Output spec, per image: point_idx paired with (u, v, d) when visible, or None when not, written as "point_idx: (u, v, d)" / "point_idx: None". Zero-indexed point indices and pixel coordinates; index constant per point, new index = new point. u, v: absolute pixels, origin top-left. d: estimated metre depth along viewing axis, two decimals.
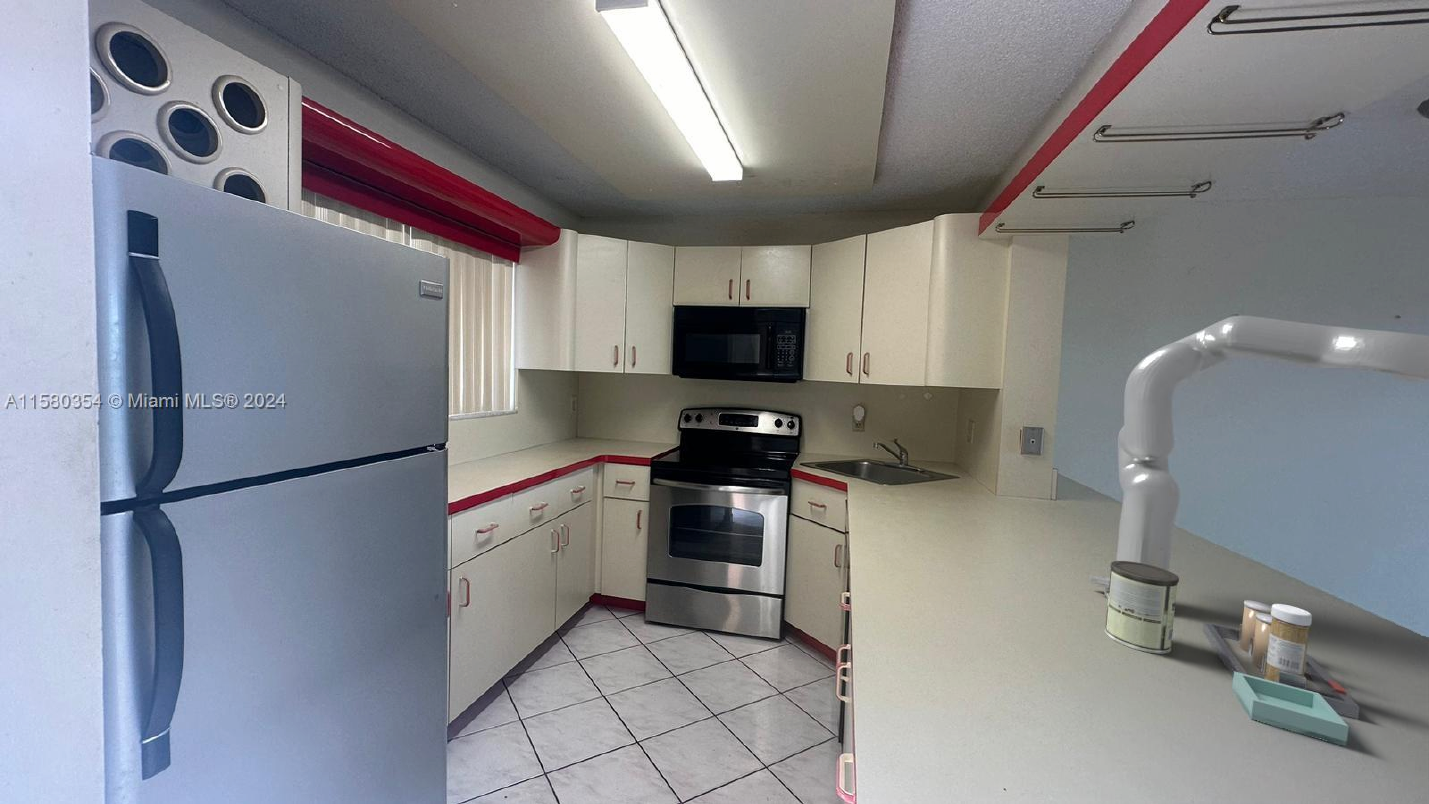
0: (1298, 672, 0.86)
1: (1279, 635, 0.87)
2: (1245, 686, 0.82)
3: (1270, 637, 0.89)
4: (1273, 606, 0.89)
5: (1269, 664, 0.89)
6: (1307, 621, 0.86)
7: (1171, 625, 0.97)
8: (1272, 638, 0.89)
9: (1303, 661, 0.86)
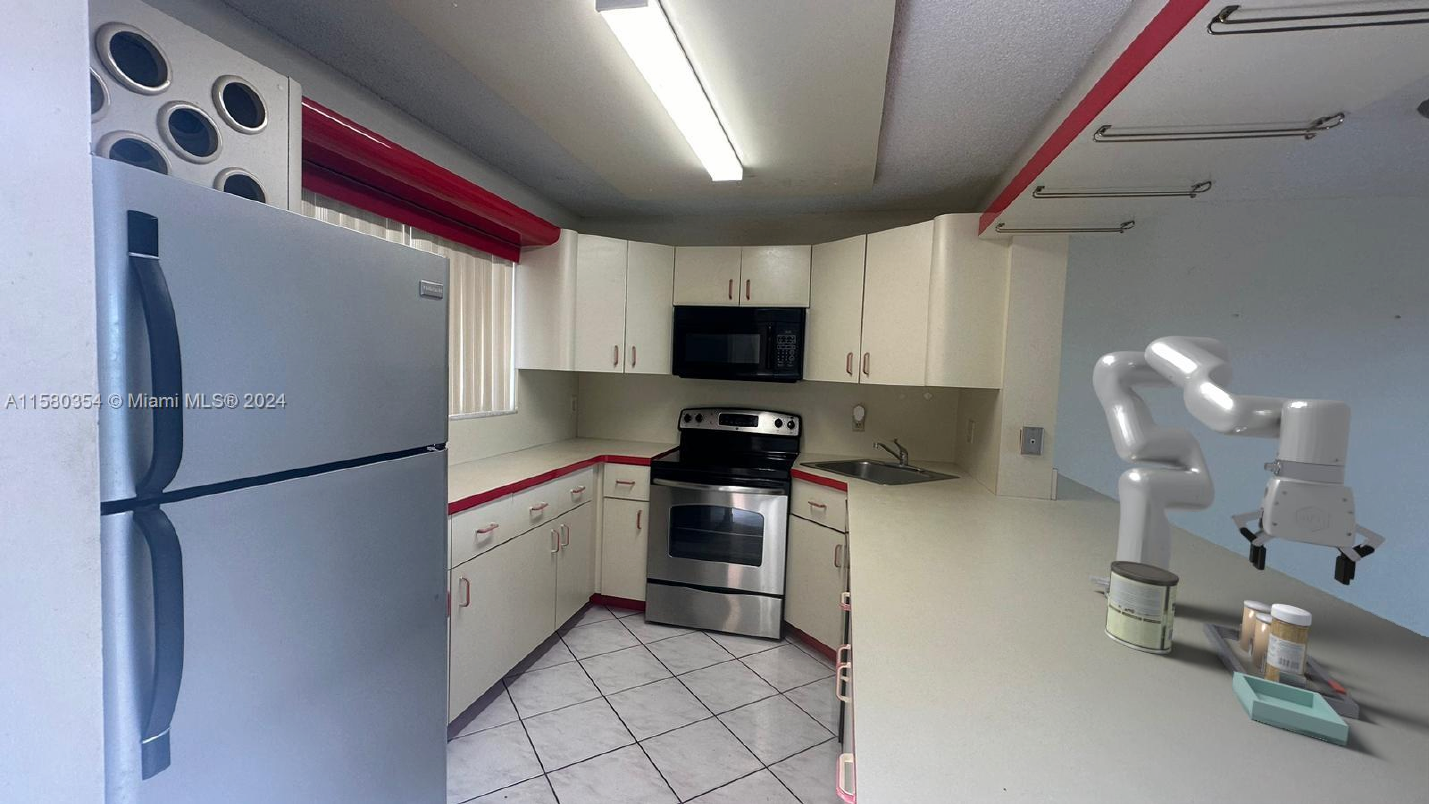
0: (1298, 672, 0.86)
1: (1279, 635, 0.87)
2: (1245, 686, 0.82)
3: (1270, 637, 0.89)
4: (1273, 606, 0.89)
5: (1269, 664, 0.89)
6: (1307, 621, 0.86)
7: (1171, 625, 0.97)
8: (1272, 638, 0.89)
9: (1303, 661, 0.86)
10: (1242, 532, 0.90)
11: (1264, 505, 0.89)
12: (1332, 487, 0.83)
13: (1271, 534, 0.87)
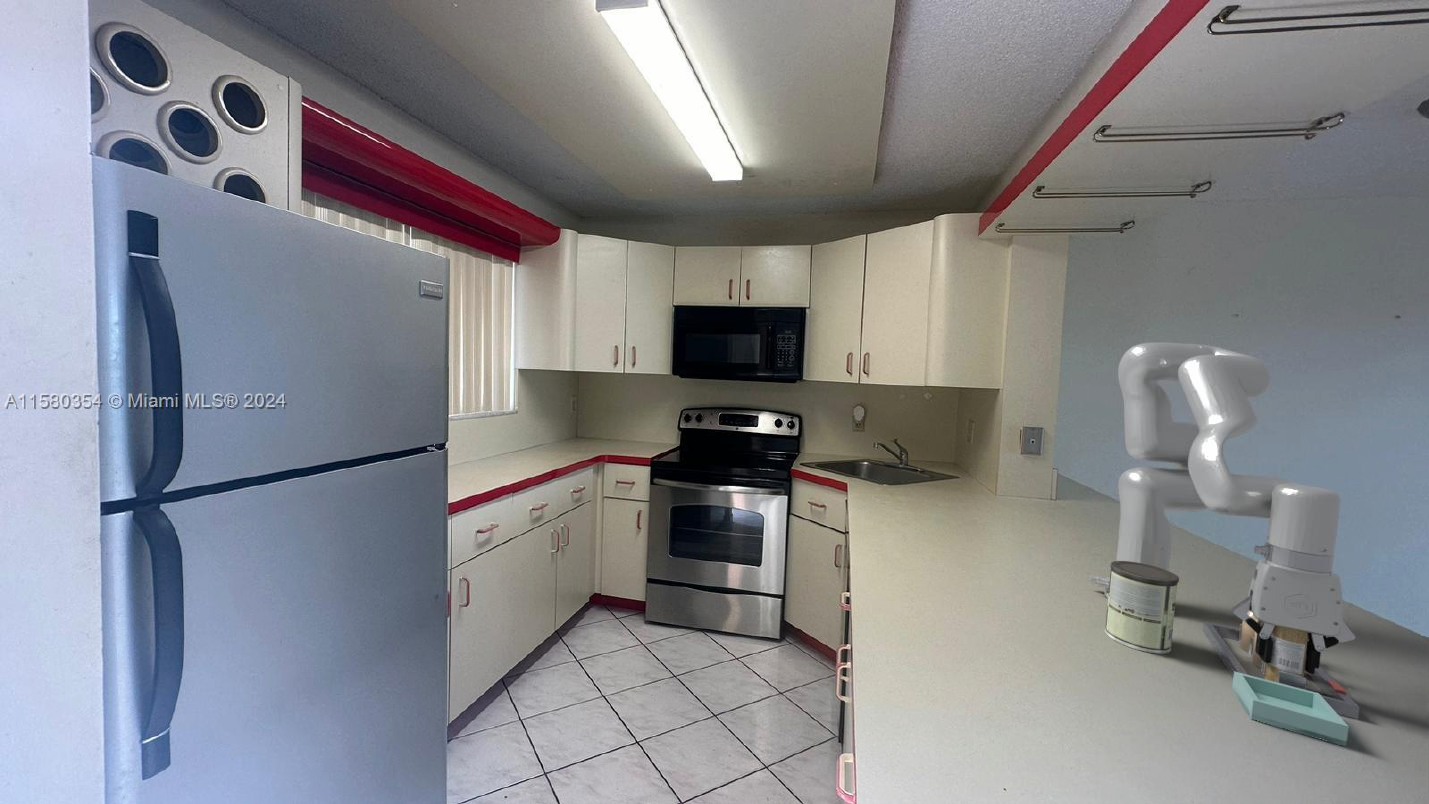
0: (1298, 672, 0.86)
1: (1279, 635, 0.87)
2: (1245, 686, 0.82)
3: (1270, 637, 0.89)
4: None
5: (1269, 664, 0.89)
6: None
7: (1171, 625, 0.97)
8: (1272, 638, 0.89)
9: (1303, 661, 0.86)
10: (1249, 623, 0.90)
11: (1253, 588, 0.90)
12: (1320, 576, 0.84)
13: (1259, 618, 0.88)
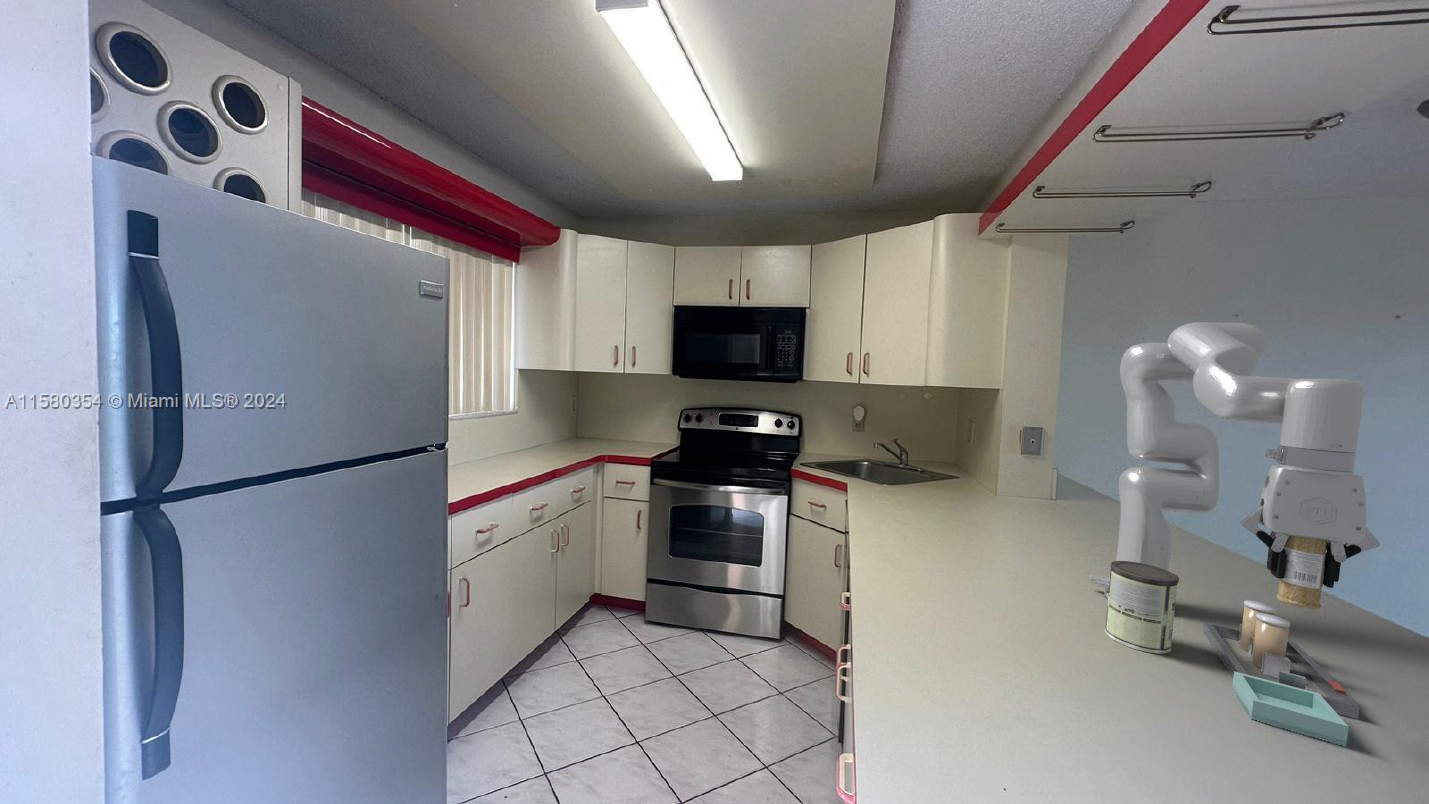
0: (1315, 586, 0.77)
1: (1294, 546, 0.78)
2: (1245, 686, 0.82)
3: None
4: None
5: (1283, 580, 0.79)
6: None
7: (1171, 625, 0.97)
8: (1285, 550, 0.79)
9: (1321, 574, 0.77)
10: (1259, 536, 0.81)
11: (1265, 496, 0.80)
12: (1341, 476, 0.75)
13: (1272, 528, 0.79)
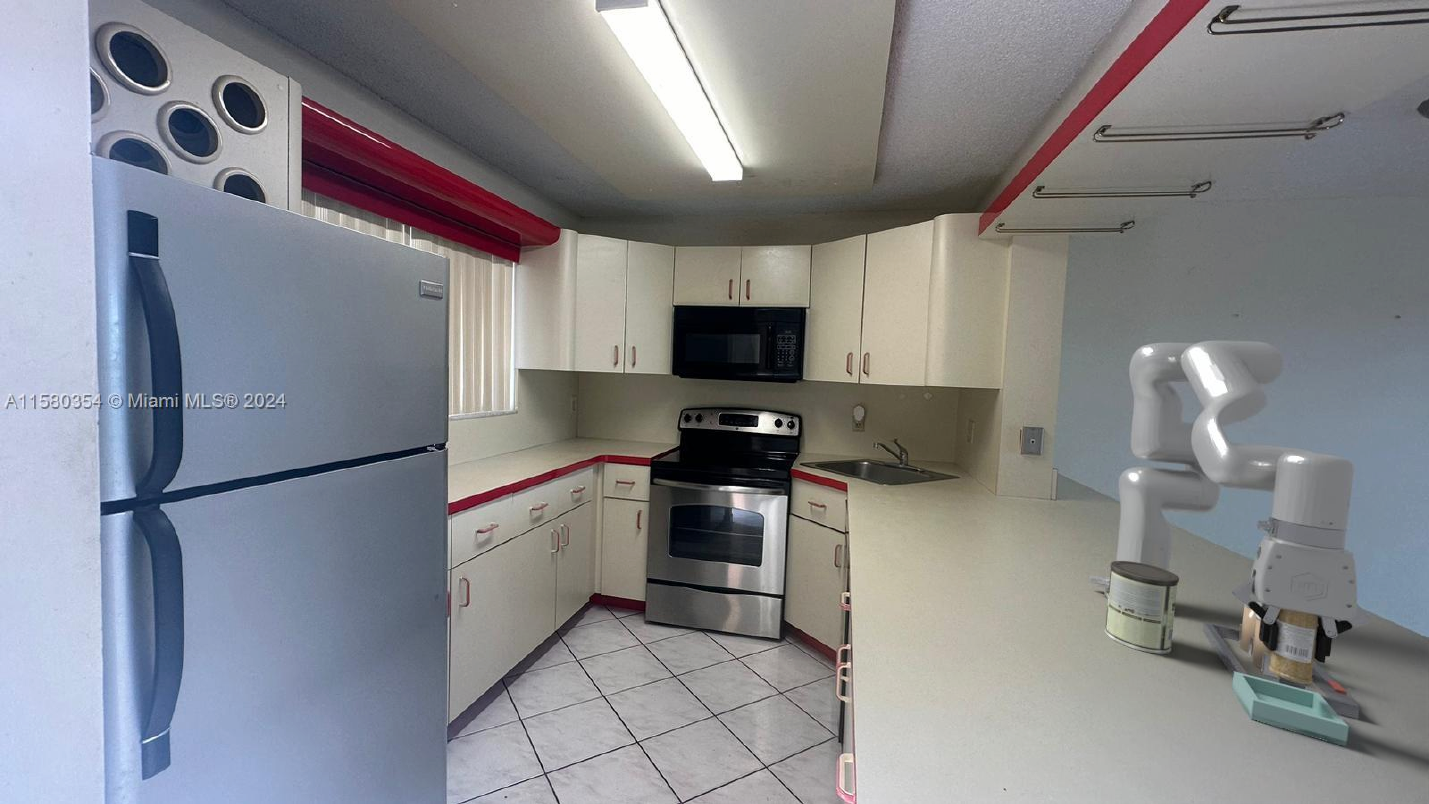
0: (1307, 660, 0.77)
1: (1285, 619, 0.79)
2: (1245, 686, 0.82)
3: None
4: None
5: (1275, 652, 0.80)
6: None
7: (1171, 625, 0.97)
8: (1277, 623, 0.80)
9: (1312, 648, 0.77)
10: (1251, 607, 0.81)
11: (1256, 567, 0.81)
12: (1331, 553, 0.75)
13: (1264, 601, 0.79)
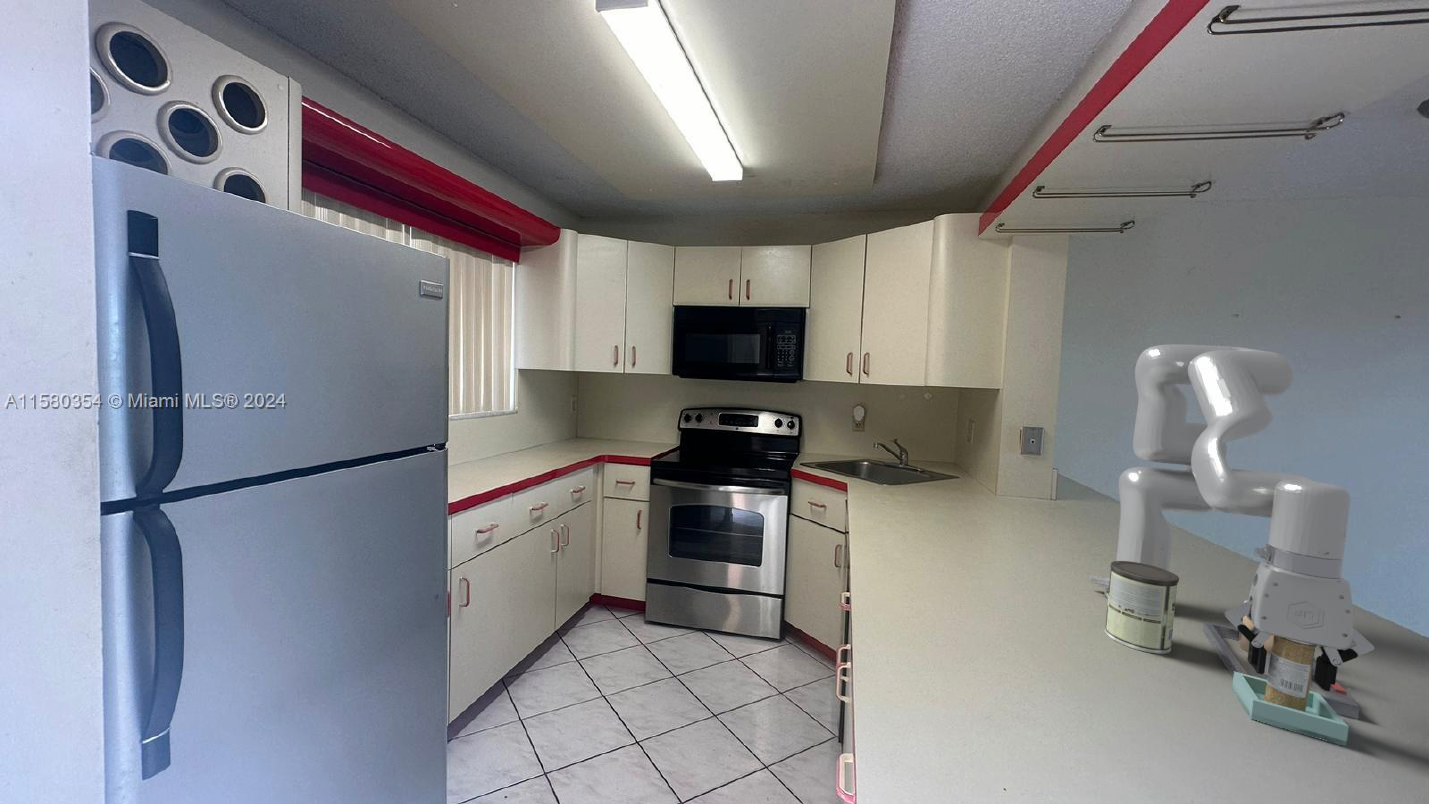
0: (1301, 695, 0.78)
1: (1282, 654, 0.79)
2: (1245, 686, 0.82)
3: (1271, 656, 0.81)
4: None
5: (1270, 685, 0.80)
6: None
7: (1171, 625, 0.97)
8: (1273, 656, 0.80)
9: (1307, 683, 0.78)
10: (1240, 630, 0.82)
11: (1253, 595, 0.81)
12: (1328, 582, 0.76)
13: (1260, 628, 0.79)
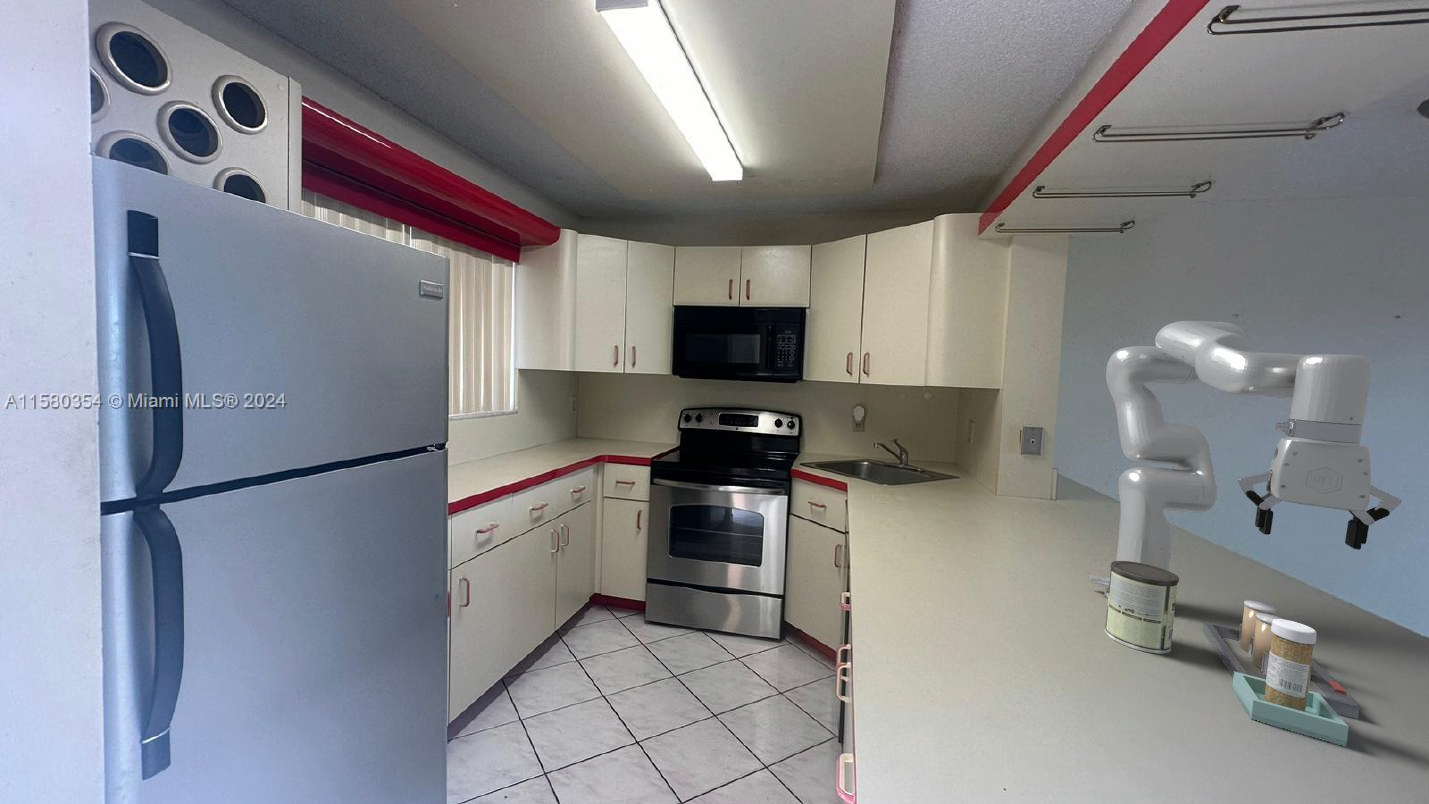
0: (1301, 695, 0.78)
1: (1280, 654, 0.79)
2: (1245, 686, 0.82)
3: (1270, 656, 0.81)
4: (1274, 622, 0.80)
5: (1269, 685, 0.80)
6: (1311, 639, 0.77)
7: (1171, 625, 0.97)
8: (1272, 657, 0.80)
9: (1306, 683, 0.78)
10: (1248, 495, 0.86)
11: (1273, 467, 0.84)
12: (1347, 447, 0.79)
13: (1279, 497, 0.83)
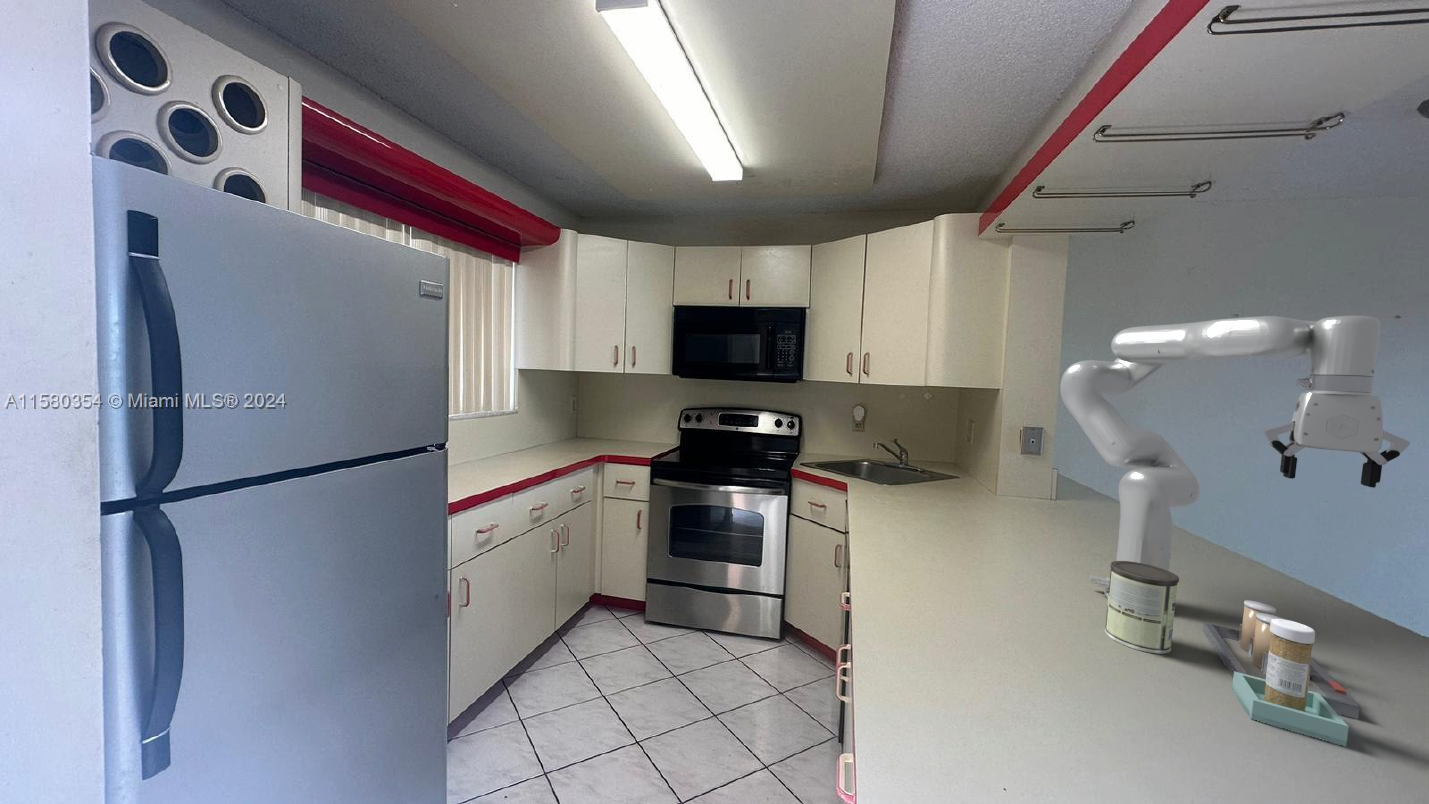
0: (1300, 695, 0.78)
1: (1279, 654, 0.79)
2: (1245, 686, 0.82)
3: (1269, 656, 0.81)
4: (1272, 621, 0.81)
5: (1269, 685, 0.80)
6: (1310, 638, 0.77)
7: (1171, 625, 0.97)
8: (1271, 656, 0.80)
9: (1306, 683, 0.78)
10: (1274, 444, 0.96)
11: (1295, 418, 0.95)
12: (1361, 396, 0.89)
13: (1302, 443, 0.93)
